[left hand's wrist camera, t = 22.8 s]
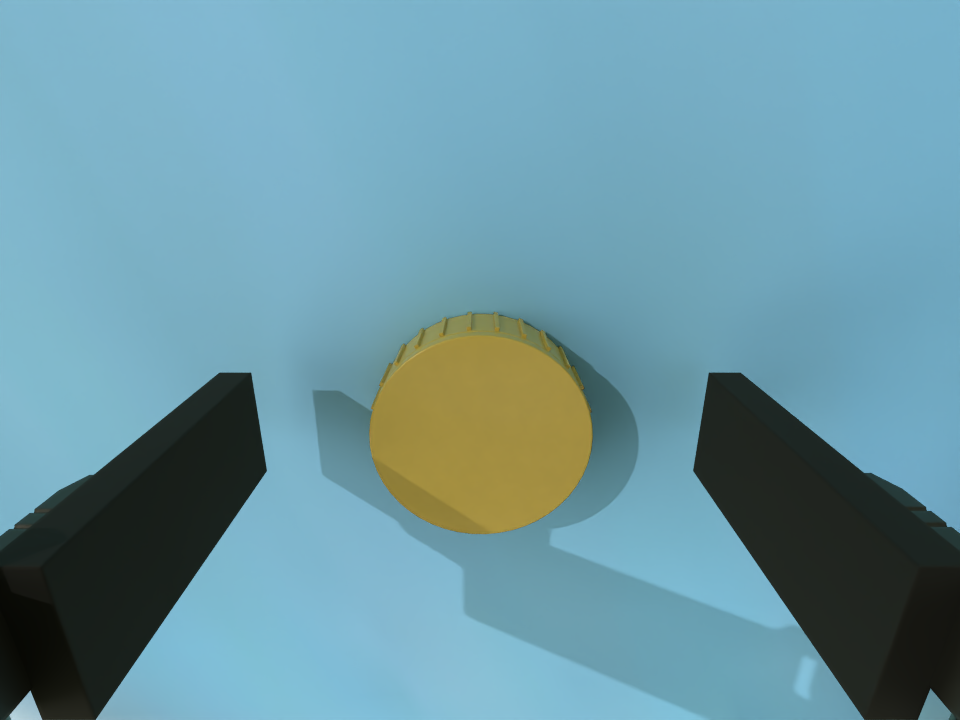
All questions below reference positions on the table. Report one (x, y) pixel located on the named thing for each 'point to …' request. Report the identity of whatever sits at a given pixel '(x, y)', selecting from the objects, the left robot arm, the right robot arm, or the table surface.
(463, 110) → the table surface
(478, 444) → the lid
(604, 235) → the table surface
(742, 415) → the left robot arm
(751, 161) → the table surface
